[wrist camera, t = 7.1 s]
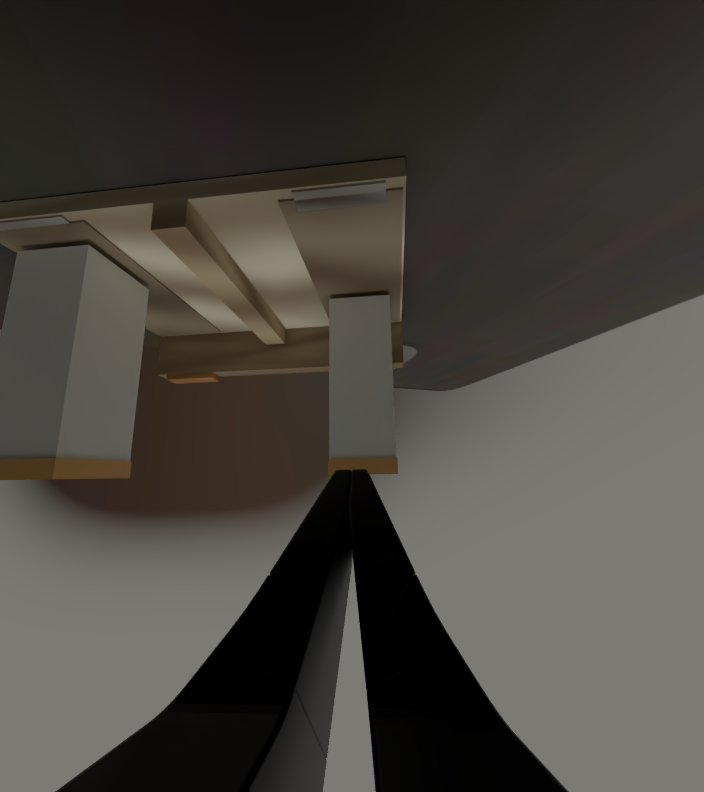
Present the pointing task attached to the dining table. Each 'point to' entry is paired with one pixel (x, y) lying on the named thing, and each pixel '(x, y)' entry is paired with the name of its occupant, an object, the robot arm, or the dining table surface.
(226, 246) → the switch bank
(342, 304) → the tab
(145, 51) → the dining table surface
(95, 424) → the tab
